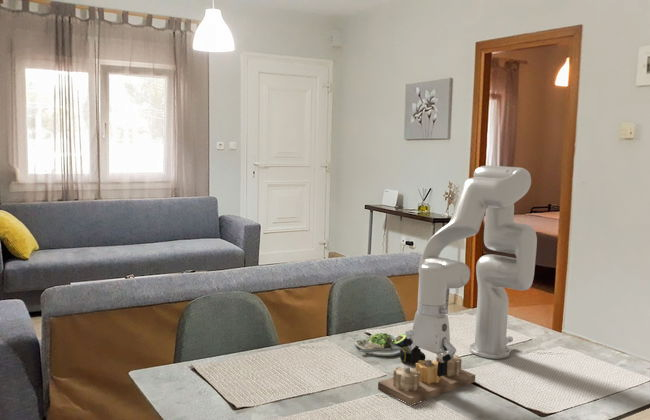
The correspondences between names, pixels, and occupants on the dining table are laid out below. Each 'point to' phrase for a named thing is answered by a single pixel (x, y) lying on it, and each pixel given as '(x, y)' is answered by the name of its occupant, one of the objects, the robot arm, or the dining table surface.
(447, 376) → the gear board
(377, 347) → the salad plate
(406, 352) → the tape measure
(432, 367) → the ochre gear
